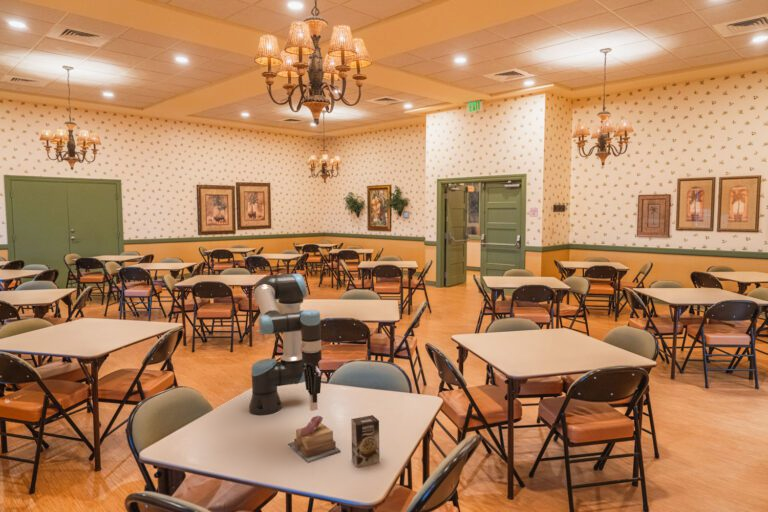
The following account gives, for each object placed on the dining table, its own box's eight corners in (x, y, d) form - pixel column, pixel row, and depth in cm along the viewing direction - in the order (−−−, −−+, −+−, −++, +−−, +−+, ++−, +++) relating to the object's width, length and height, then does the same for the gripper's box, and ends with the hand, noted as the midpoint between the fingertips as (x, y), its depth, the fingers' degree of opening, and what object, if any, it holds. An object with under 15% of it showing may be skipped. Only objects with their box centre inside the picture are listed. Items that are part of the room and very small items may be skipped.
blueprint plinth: (288, 445, 198) (287, 426, 197) (319, 435, 206) (318, 417, 205) (307, 463, 183) (307, 442, 183) (340, 452, 191) (339, 432, 191)
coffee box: (357, 467, 179) (356, 425, 178) (351, 460, 185) (350, 418, 184) (380, 462, 183) (379, 420, 181) (373, 454, 189) (372, 414, 187)
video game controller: (308, 440, 188) (315, 425, 186) (298, 434, 189) (305, 419, 187) (319, 429, 197) (326, 415, 196) (310, 423, 198) (317, 409, 197)
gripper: (295, 348, 194) (297, 406, 196) (310, 355, 183) (312, 417, 185) (312, 345, 198) (314, 402, 200) (328, 352, 187) (330, 412, 189)
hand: (313, 409), depth 192 cm, fingers closed
